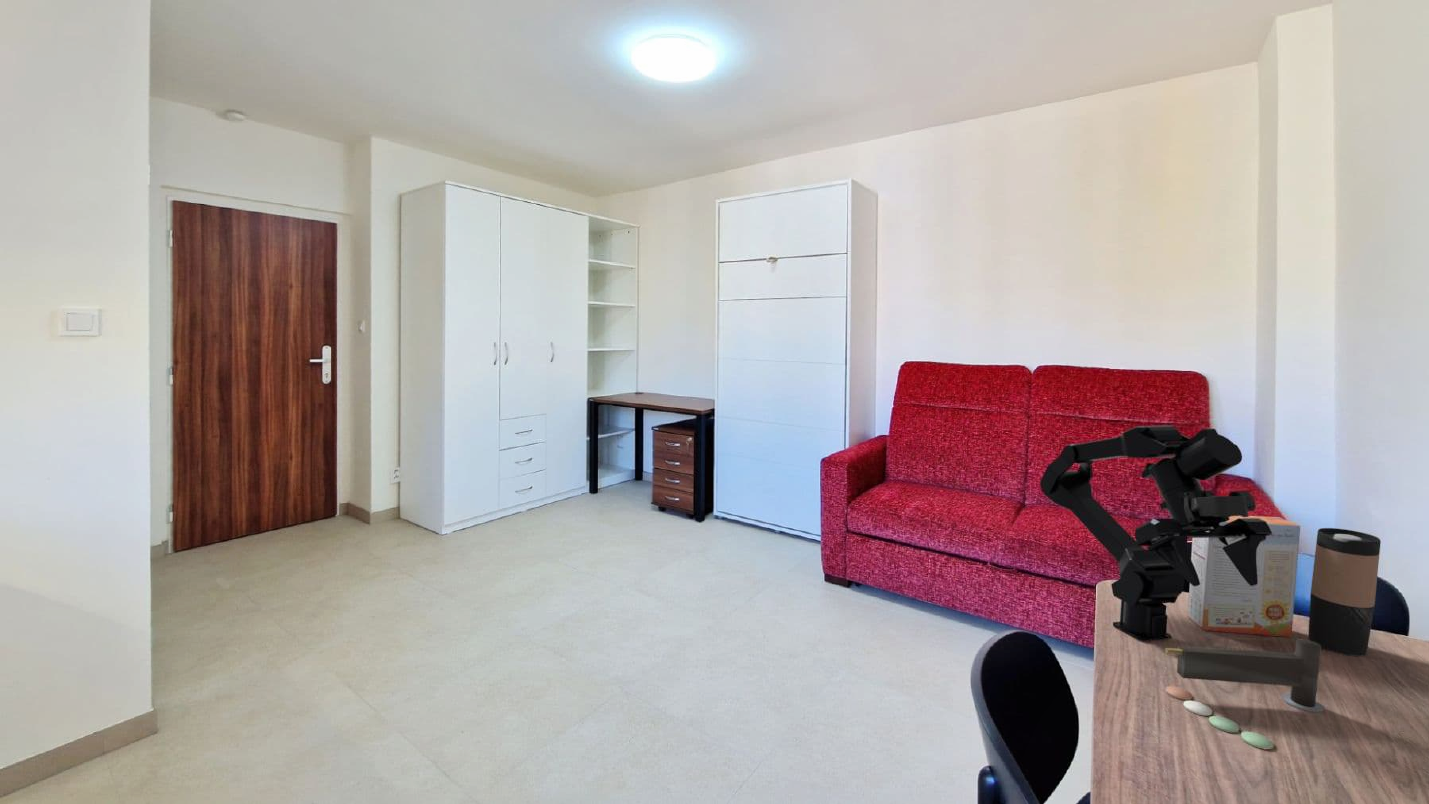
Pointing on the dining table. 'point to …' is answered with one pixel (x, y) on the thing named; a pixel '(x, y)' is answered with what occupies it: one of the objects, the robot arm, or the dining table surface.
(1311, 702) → the hammer
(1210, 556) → the cracker box
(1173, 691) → the pebbles
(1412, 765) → the dining table surface
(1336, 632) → the travel mug
